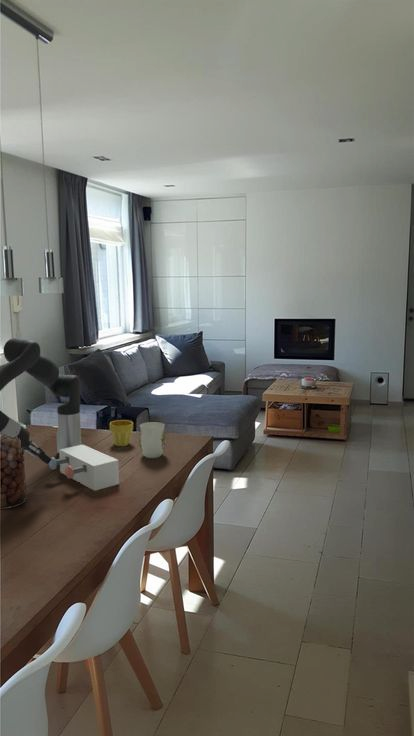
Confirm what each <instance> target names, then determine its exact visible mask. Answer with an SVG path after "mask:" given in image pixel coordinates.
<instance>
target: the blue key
mask: <svg viewBox="0 0 414 736" xmlns="http://www.w3.org/2000/svg"><path fill="white" fill-rule="evenodd" d="M50 458H51V461H50V462H49V464H48V466H49V468H50V470H55V469H57V466H60V464H64V463H68V462H69V457H65V458H61V459H60V458H58V459H56V458H55V457H54V456H52V457H50Z"/></svg>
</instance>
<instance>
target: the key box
mask: <svg viewBox="0 0 414 736" xmlns="http://www.w3.org/2000/svg"><path fill="white" fill-rule="evenodd" d="M58 455H59V459H61V458H65V457H69V462H68V463H64V464H60V465H59V472H60V473H61V474H63V475H65V476H66V473H65V468H66V466H71V467H72V468H76V467H80V466H84V465H85V466H86V471H84V472H80V473H76V474H74V476H73V478H71V479H72V480H74V481H76V482H77V483H79V482H80V484H82V485H83V486H84V487H87V488H89V489H91V490H93V491H95V492H96V491H99V490H101V489H106V488H110V487H114V486H117V485H119V484H120V473H119V459H117V458H116V457H112V456H111V455H108V454H105V453H103V452H101V451H99V450H96V449H94V448H91V447H90V446H87V445H85V444H81V445H78V446H73V447H69V448H64V449H59V453H58Z"/></svg>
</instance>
